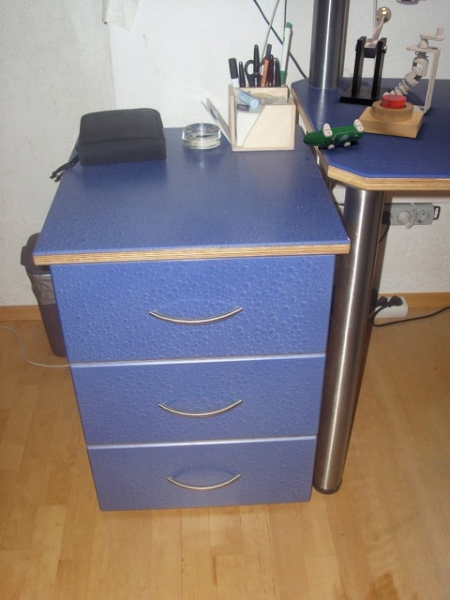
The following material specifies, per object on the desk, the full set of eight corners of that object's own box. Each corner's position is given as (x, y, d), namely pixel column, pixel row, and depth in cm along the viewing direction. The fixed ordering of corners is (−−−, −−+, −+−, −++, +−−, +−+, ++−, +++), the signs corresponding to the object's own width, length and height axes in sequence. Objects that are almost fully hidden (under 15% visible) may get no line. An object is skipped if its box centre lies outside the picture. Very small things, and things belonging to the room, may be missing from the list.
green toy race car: (307, 159, 98) (321, 142, 92) (300, 138, 98) (314, 119, 92) (356, 151, 100) (373, 134, 94) (349, 131, 101) (365, 112, 95)
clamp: (384, 103, 118) (396, 21, 110) (433, 109, 115) (449, 24, 106) (378, 108, 115) (390, 24, 107) (428, 115, 112) (444, 28, 103)
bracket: (350, 90, 127) (357, 33, 121) (388, 93, 124) (397, 35, 118) (340, 102, 119) (346, 41, 113) (380, 106, 117) (388, 44, 110)
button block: (421, 124, 107) (425, 102, 105) (415, 138, 101) (419, 114, 98) (366, 118, 110) (368, 96, 108) (356, 131, 104) (359, 108, 102)
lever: (376, 17, 124) (377, 2, 121) (392, 18, 123) (393, 3, 120) (361, 59, 118) (361, 45, 115) (377, 60, 117) (378, 46, 114)
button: (406, 105, 104) (407, 95, 103) (402, 111, 101) (404, 101, 100) (383, 103, 105) (384, 93, 105) (379, 109, 102) (380, 99, 101)
